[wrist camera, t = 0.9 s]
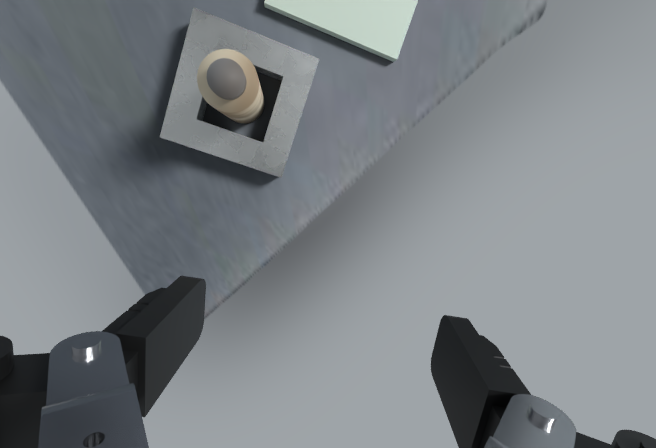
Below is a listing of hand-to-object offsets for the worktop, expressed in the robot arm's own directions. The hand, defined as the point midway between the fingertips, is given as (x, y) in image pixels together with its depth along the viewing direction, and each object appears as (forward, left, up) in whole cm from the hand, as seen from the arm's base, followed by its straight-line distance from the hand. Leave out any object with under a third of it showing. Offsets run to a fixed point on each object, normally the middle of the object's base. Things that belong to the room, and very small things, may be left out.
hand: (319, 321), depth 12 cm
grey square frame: (-7, +8, -25) cm, 27 cm away
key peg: (-7, +8, -25) cm, 27 cm away
